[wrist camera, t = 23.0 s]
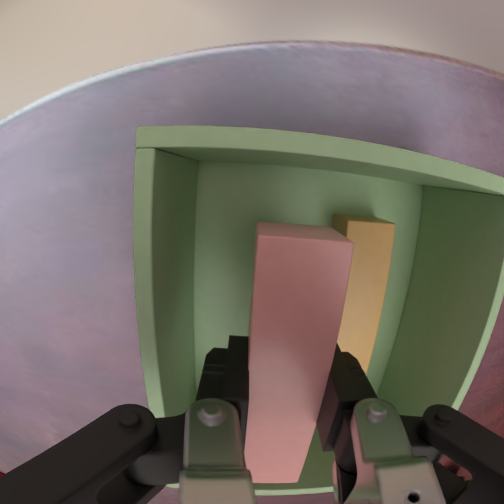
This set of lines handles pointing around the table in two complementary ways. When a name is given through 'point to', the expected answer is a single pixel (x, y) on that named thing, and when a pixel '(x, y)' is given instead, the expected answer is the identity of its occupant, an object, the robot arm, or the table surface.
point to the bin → (319, 214)
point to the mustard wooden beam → (364, 282)
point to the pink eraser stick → (291, 341)
